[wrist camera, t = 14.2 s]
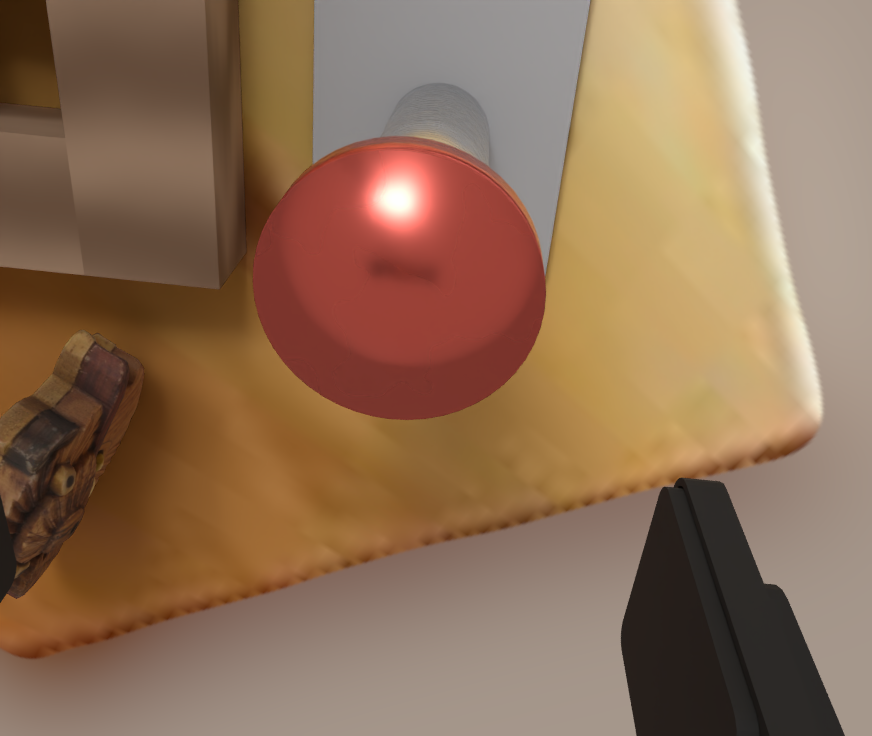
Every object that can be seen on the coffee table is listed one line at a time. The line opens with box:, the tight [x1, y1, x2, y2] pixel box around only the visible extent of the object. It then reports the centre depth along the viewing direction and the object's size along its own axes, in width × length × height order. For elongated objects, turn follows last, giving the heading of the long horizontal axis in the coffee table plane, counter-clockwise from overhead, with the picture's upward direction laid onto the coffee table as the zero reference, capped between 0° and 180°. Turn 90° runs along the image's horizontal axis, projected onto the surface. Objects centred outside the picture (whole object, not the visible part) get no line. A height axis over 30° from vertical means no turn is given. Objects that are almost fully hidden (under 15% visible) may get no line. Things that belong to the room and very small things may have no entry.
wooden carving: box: [0, 330, 144, 599], centre depth 37 cm, size 16×5×10 cm, turn 154°
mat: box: [313, 0, 590, 275], centre depth 32 cm, size 12×10×1 cm
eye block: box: [0, 0, 246, 289], centre depth 30 cm, size 16×16×4 cm
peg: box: [253, 83, 546, 420], centre depth 26 cm, size 7×7×15 cm
